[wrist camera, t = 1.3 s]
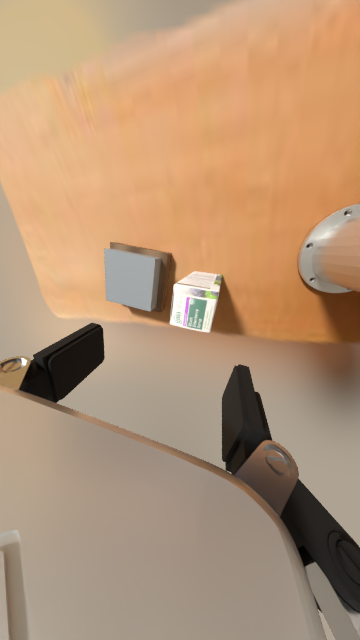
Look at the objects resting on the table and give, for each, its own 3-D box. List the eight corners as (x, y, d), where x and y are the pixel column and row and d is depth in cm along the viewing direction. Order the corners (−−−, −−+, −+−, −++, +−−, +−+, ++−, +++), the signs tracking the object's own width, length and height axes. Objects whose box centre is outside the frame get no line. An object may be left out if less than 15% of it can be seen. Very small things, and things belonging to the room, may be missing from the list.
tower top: (161, 258, 30) (155, 258, 27) (156, 307, 34) (150, 311, 32) (114, 248, 32) (104, 248, 29) (114, 296, 36) (106, 300, 33)
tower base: (172, 253, 32) (167, 253, 29) (165, 307, 37) (160, 312, 35) (119, 242, 34) (110, 242, 31) (119, 296, 39) (111, 299, 36)
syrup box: (216, 302, 33) (212, 335, 20) (189, 297, 34) (168, 326, 21) (222, 274, 31) (221, 291, 18) (192, 270, 32) (171, 283, 19)
